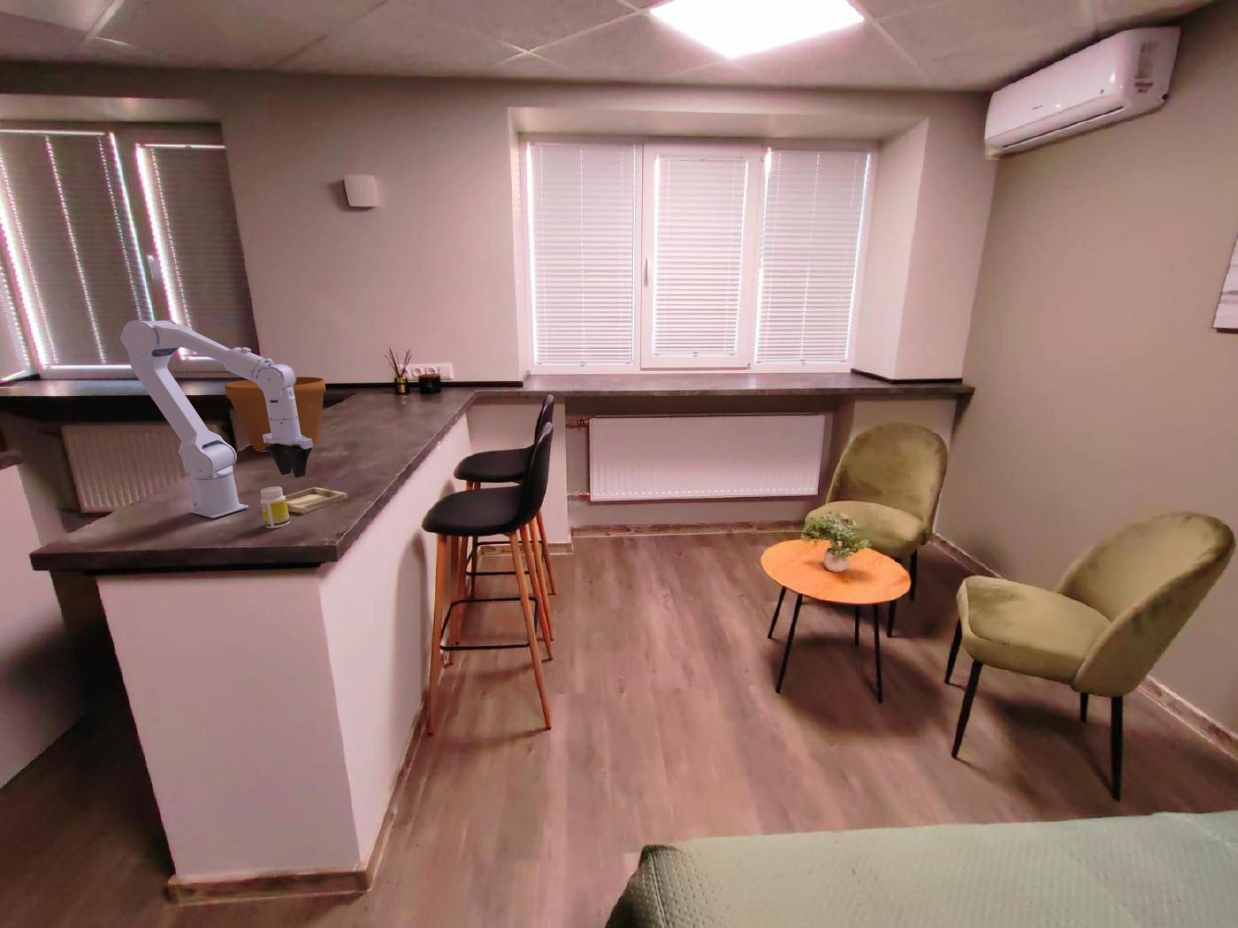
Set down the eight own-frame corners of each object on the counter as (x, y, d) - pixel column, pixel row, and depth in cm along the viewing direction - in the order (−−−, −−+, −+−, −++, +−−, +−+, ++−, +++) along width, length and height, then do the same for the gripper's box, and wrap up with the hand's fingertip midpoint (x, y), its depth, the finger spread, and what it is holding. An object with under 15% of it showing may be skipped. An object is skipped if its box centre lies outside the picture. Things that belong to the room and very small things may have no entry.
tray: (270, 507, 130) (269, 500, 130) (315, 493, 141) (314, 486, 140) (303, 515, 125) (302, 508, 125) (347, 499, 136) (346, 493, 135)
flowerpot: (291, 464, 167) (279, 388, 161) (216, 459, 173) (201, 386, 166) (351, 443, 194) (342, 378, 187) (285, 439, 199) (274, 376, 193)
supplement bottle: (294, 520, 123) (287, 485, 120) (284, 528, 118) (277, 492, 116) (271, 521, 122) (265, 486, 120) (260, 529, 118) (253, 492, 115)
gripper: (245, 418, 122) (256, 475, 126) (287, 424, 116) (297, 483, 120) (276, 413, 128) (285, 468, 132) (317, 418, 122) (326, 475, 126)
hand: (293, 475), depth 126 cm, fingers open, 4 cm apart
